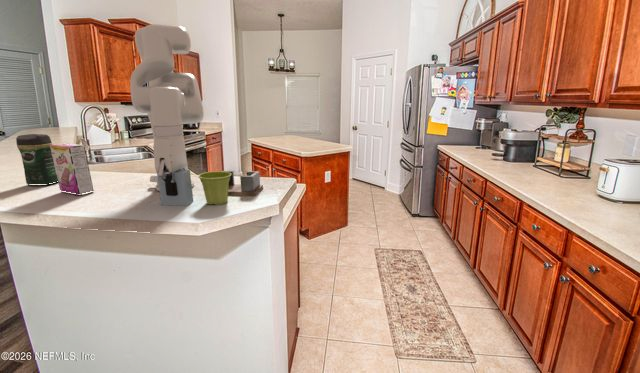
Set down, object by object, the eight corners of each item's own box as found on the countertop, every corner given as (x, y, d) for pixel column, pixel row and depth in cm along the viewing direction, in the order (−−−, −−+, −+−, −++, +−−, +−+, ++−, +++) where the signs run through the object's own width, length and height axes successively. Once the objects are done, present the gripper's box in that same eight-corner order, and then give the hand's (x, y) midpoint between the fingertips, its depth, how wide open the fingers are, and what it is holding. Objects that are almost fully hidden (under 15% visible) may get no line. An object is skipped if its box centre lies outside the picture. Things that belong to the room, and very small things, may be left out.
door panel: (161, 204, 97) (156, 172, 94) (168, 200, 101) (164, 169, 98) (187, 205, 96) (183, 172, 94) (193, 201, 100) (189, 169, 98)
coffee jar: (65, 181, 125) (54, 132, 120) (47, 187, 118) (35, 135, 113) (41, 181, 126) (30, 132, 121) (22, 186, 118) (9, 135, 113)
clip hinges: (214, 190, 107) (212, 175, 106) (223, 184, 115) (221, 170, 113) (253, 191, 106) (252, 176, 105) (260, 185, 113) (259, 171, 112)
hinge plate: (211, 194, 107) (211, 191, 107) (221, 187, 116) (221, 184, 115) (255, 195, 106) (255, 192, 105) (263, 188, 114) (262, 184, 114)
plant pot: (224, 195, 106) (222, 169, 104) (238, 202, 99) (236, 174, 97) (196, 201, 100) (193, 174, 98) (209, 209, 93) (206, 179, 91)
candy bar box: (59, 192, 110) (48, 144, 106) (75, 189, 114) (65, 142, 110) (79, 196, 106) (68, 146, 101) (95, 192, 110) (85, 144, 106)
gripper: (171, 129, 101) (178, 185, 106) (137, 135, 85) (147, 201, 90) (194, 129, 101) (200, 186, 105) (164, 135, 85) (173, 202, 89)
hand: (176, 192), depth 98 cm, fingers closed on door panel, 4 cm apart
